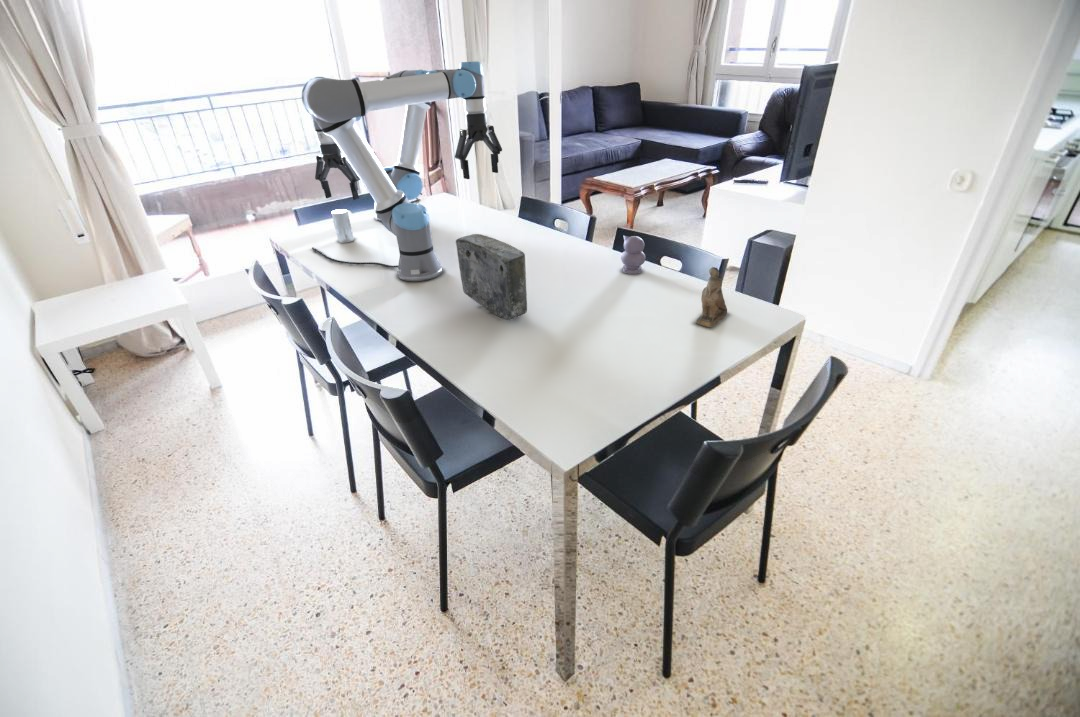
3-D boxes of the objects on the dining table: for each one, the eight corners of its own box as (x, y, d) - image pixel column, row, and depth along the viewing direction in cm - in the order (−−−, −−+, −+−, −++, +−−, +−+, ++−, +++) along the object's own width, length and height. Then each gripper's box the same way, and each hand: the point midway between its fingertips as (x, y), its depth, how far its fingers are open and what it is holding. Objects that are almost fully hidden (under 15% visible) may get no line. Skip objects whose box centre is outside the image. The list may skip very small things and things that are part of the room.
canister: (344, 243, 208) (336, 214, 202) (335, 241, 212) (328, 212, 205) (356, 239, 213) (350, 210, 206) (348, 237, 216) (341, 208, 210)
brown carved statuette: (709, 335, 136) (713, 280, 124) (691, 329, 139) (693, 274, 128) (730, 313, 142) (736, 258, 130) (712, 307, 145) (716, 253, 133)
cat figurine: (649, 270, 171) (652, 236, 165) (636, 276, 167) (638, 242, 160) (628, 264, 176) (630, 231, 170) (615, 271, 172) (617, 237, 165)
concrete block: (534, 321, 142) (531, 253, 131) (508, 330, 137) (503, 261, 127) (486, 291, 160) (480, 231, 150) (462, 299, 156) (454, 237, 145)
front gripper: (495, 108, 184) (500, 168, 195) (439, 115, 170) (448, 180, 181) (509, 109, 179) (512, 171, 191) (452, 116, 165) (460, 182, 176)
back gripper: (296, 143, 194) (311, 199, 205) (349, 144, 186) (362, 201, 197) (309, 140, 200) (323, 194, 211) (361, 141, 192) (373, 197, 203)
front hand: (481, 175), depth 186 cm, fingers open, 13 cm apart
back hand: (342, 198), depth 204 cm, fingers open, 13 cm apart
